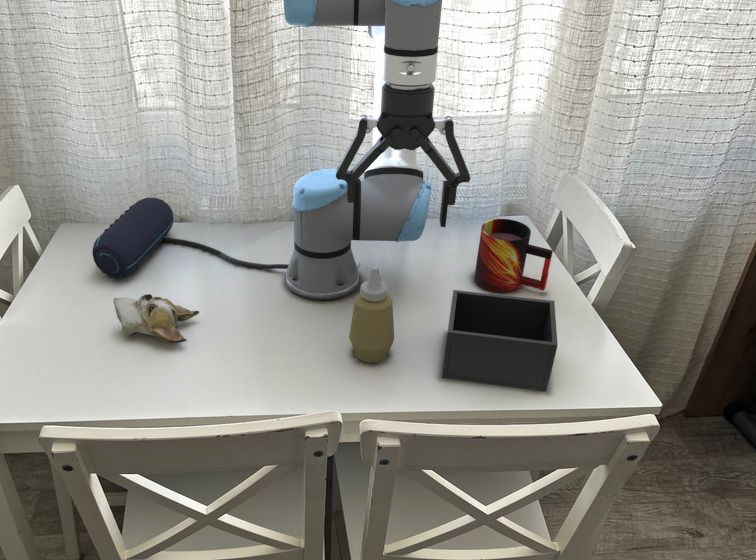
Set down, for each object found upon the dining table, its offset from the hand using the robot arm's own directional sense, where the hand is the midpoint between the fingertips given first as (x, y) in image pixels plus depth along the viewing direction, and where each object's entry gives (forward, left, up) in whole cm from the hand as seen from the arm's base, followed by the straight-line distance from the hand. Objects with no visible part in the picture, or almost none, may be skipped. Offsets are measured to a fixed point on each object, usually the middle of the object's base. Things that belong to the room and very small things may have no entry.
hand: (399, 222), depth 114 cm
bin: (+18, +3, -27) cm, 33 cm away
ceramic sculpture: (-45, -2, -27) cm, 52 cm away
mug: (+20, +31, -27) cm, 46 cm away
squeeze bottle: (-4, 0, -27) cm, 27 cm away
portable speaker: (-61, +25, -27) cm, 71 cm away
